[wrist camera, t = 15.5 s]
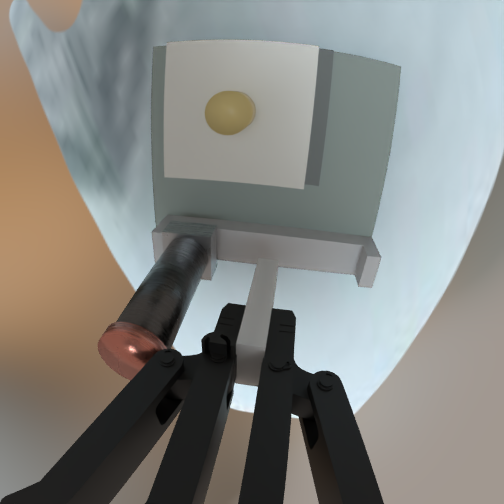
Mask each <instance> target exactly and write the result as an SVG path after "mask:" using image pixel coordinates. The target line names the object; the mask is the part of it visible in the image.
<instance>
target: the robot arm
mask: <svg viewBox="0 0 504 504" xmlns="http://www.w3.org/2000/svg"><path fill="white" fill-rule="evenodd" d="M278 262H279V260H272V259H264V258H258V262H257V266H256V269H255V273H254V277H253V281H252V285H251V289H250V293H249V296H248V300H247V304H246V305H239V304H232V303H228V304H227V305H226V306H225V307H224V308H223V309H222V311H221V313H220V316H219V319H218V322H217V325H216V328H215V330H214V332H211V333H208V334H207V335H205V336H204V337H203V339H202V340H201V342H202V353H200V354H197V355H191V356H182V355H181V353H180V352H178V351H177V350H174V349H163V350H160V351H158V352H157V353H156V354H154V356H153V357H152V358H151V359H150V360H149V361H148V362H147V363H146V364H145V365H144V367H143V368H142V369H141V370H140V371H139V372H138V373H137V374H136V375H135V376H134V378H133V379H132V380H131V381H130V382H129V383H128V384H127V385H126V386H125V388H124V389H123V390H122V391H121V392H120V393H119V394H118V395H117V396H116V397H115V399H114V400H113V401H112V402H111V403H110V404H109V405H108V406H107V407H106V409H105V410H104V411H103V412H102V413H101V414H100V415H99V416H98V417H97V418H96V420H95V421H94V422H93V423H92V424H91V425H90V426H89V427H88V429H87V430H86V431H85V432H84V433H83V434H82V435H81V436H80V437H79V438H78V440H77V441H76V442H75V443H74V444H73V445H72V446H71V447H70V449H69V450H68V451H67V452H66V453H65V454H64V455H63V456H62V457H61V458H60V460H59V461H58V462H57V463H56V464H55V465H54V466H53V467H52V468H51V470H50V471H49V472H48V473H47V474H46V475H45V476H44V478H43V479H42V480H41V481H40V482H37V483H35V484H33V485H31V486H29V487H26V488H24V489H22V490H19V491H17V492H15V493H12V494H10V495H7V496H5V497H4V498H3V499H2V500H1V502H0V504H109V503H110V502H111V501H112V499H113V498H114V497H115V496H116V494H117V493H118V492H119V491H120V489H121V488H122V487H123V486H124V484H125V483H126V482H127V480H128V479H129V478H130V477H131V475H132V474H133V473H134V471H135V470H136V469H137V468H138V466H139V465H140V464H141V462H142V461H143V460H144V458H145V457H146V456H147V455H148V453H149V452H150V450H151V449H152V448H153V447H154V445H155V444H156V442H157V441H158V440H159V439H160V437H161V436H162V435H163V433H164V432H165V431H166V429H167V428H168V426H169V425H170V424H171V422H172V421H173V420H174V418H175V417H176V416H177V414H178V413H179V412H180V410H181V412H180V414H179V417H178V420H177V422H176V425H175V428H174V430H173V433H172V435H171V438H170V441H169V444H168V446H167V449H166V451H165V454H164V457H163V460H162V462H161V465H160V468H159V471H158V473H157V476H156V478H155V481H154V484H153V487H152V489H151V492H150V495H149V498H148V500H147V502H146V503H145V504H204V501H205V497H206V494H207V490H208V486H209V483H210V479H211V476H212V472H213V468H214V465H215V461H216V457H217V454H218V450H219V446H220V443H221V439H222V435H223V431H224V427H225V424H226V420H227V416H228V412H229V409H230V405H231V401H232V397H233V387H234V383H238V384H244V385H251V386H258V391H257V397H256V403H255V409H254V416H253V422H252V428H251V434H250V440H249V446H248V452H247V457H246V464H245V469H244V475H243V480H242V486H241V491H240V496H239V502H238V504H283V500H284V491H285V481H286V471H287V460H288V449H289V436H290V425H291V413H292V414H294V415H297V416H299V421H300V425H301V429H302V433H303V437H304V442H305V446H306V450H307V454H308V459H309V463H310V467H311V471H312V475H313V479H314V484H315V488H316V493H317V497H318V501H319V504H384V503H383V500H382V496H381V493H380V490H379V487H378V484H377V481H376V478H375V475H374V472H373V469H372V466H371V463H370V460H369V457H368V454H367V451H366V449H365V445H364V442H363V440H362V437H361V434H360V431H359V428H358V425H357V423H356V420H355V417H354V414H353V411H352V409H351V406H350V403H349V400H348V398H347V395H346V392H345V389H344V387H343V384H342V381H341V380H340V378H339V377H338V376H337V375H336V374H335V373H333V372H330V371H319V372H316V373H315V374H311V373H309V372H306V371H304V370H302V369H301V368H299V367H298V366H297V364H296V363H295V361H294V342H295V326H296V317H295V315H294V313H293V311H290V310H282V309H274V308H273V304H274V297H275V288H276V280H277V271H278Z"/></svg>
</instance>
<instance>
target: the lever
mask: <svg viewBox="0 0 504 504" xmlns="http://www.w3.org/2000/svg"><path fill="white" fill-rule="evenodd" d="M162 242H163V253H162V255H161V256H160V257H159V259H158V260H157V262H156V263H155V265H154V266H153V267H152V269H151V270H150V272H149V273H148V275H147V276H146V278H145V279H144V281H143V282H142V283H141V285H140V286H139V288H138V289H137V291H136V292H135V294H134V295H133V297H132V299H131V300H130V302H129V303H128V305H127V306H126V308H125V309H124V311H123V312H122V314H121V315H120V317H119V318H118V320H117V321H116V322H115V323H112V324H111V325H109V326H108V327H107V329H106V331H105V332H104V333H103V335H102V337H101V338H100V340H99V342H98V351H99V353H100V355H101V357H102V359H103V360H104V361H105V363H106V364H107V365H108V366H109V367H110V368H111V369H113V370H114V371H115V372H117V373H118V374H119V375H121V376H123V377H125V378H127V379H129V380H132V379H133V378H134V376H135V375H136V374H137V373H138V372H139V371H140V370H141V369H142V368H143V367H144V365H145V364H146V363H147V362H148V361H149V360H150V359H151V358H152V357H153V356H154V354H156V353H157V352H158V351H160V350H163V349H171V347H172V345H173V342H174V340H175V337H176V335H177V333H178V330H179V328H180V326H181V323H182V321H183V319H184V316H185V314H186V312H187V309H188V307H189V305H190V302H191V300H192V298H193V295H194V293H195V291H196V289H197V286H198V284H199V282H200V280H201V279H204V280H212V277H213V275H214V272H215V270H216V267H217V225H216V224H205V223H195V222H184V221H174V220H171V221H170V223H169V224H168V225H167V226H166V227H165V229H164V230H163V231H162Z"/></svg>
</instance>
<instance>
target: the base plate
mask: <svg viewBox="0 0 504 504" xmlns="http://www.w3.org/2000/svg"><path fill="white" fill-rule="evenodd" d="M166 48H167V46H158V47H153V65H152V93H151V144H152V174H153V193H154V209H155V222H156V228H155V229H154V230H153V231H152V240H153V249H154V258H155V263H156V262H157V260H158V259H159V257H160V256H161V255H162V253H163V242H162V231H163V230H164V229H165V227H166V226H167V225H168V224H169V223H170V221H171V220H174V221H184V222H195V223H205V224H216V225H217V260H225V261H233V262H242V263H251V264H257V262H258V258H264V259H272V260H279V262H278V267H286V268H295V269H304V270H313V271H322V272H331V273H341V274H350V275H355V277H356V280H357V284H358V287H368V288H372V286H373V283H374V280H375V277H376V273H377V270H378V267H379V264H380V261H381V256H380V254H379V251H378V249H377V247H376V245H375V243H374V241H373V239H372V233H373V229H374V225H375V221H376V217H377V213H378V209H379V204H380V200H381V195H382V191H383V186H384V181H385V176H386V171H387V166H388V160H389V155H390V149H391V143H392V137H393V131H394V124H395V117H396V109H397V101H398V93H399V83H400V73H401V66H397V65H394V64H390V63H386V62H382V61H378V60H374V59H370V58H365V57H361V56H356V55H351V54H346V53H340V52H334V51H333V50H327V49H320V48H319V54H318V66H317V77H316V88H315V98H314V108H313V117H312V126H311V135H310V144H309V152H308V160H307V168H306V176H305V183H304V189H296V188H287V187H279V186H270V185H260V184H250V183H239V182H228V181H215V180H201V179H186V178H168V177H164V86H165V64H166Z"/></svg>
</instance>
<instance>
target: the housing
mask: <svg viewBox="0 0 504 504" xmlns="http://www.w3.org/2000/svg"><path fill="white" fill-rule="evenodd" d="M318 54H319V46H314V45H307V44H298V43H289V42H278V41H263V40H231V39H223V40H192V41H177V42H167V48H166V64H165V86H164V177H168V178H186V179H201V180H215V181H228V182H239V183H250V184H260V185H270V186H279V187H287V188H296V189H304V183H305V176H306V168H307V160H308V152H309V144H310V135H311V126H312V117H313V108H314V98H315V88H316V77H317V66H318Z"/></svg>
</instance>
